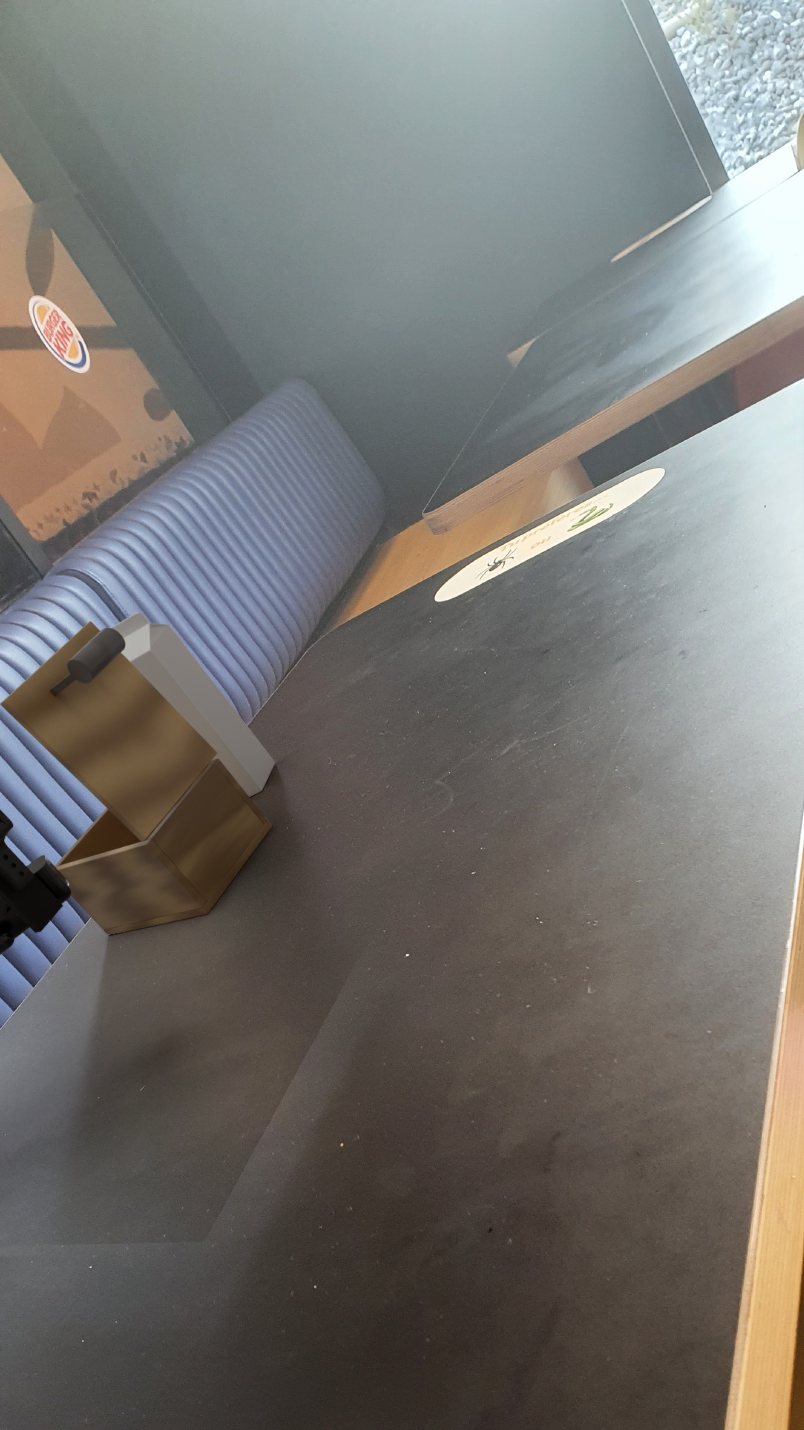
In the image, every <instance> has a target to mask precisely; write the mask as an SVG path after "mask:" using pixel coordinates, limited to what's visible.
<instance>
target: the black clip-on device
mask: <svg viewBox="0 0 804 1430" xmlns="http://www.w3.org/2000/svg"><path fill="white" fill-rule="evenodd" d="M26 866H27V867H28V868H29V869H30V870H31V872H32V873H33V874H34V875H35V876H36V877H37V878H38V879H39V880H40V881H41V882H42V884H43V885H44V886H45V887H46V888H47V889H48V890H49V891H50V892H51V893H52V894H53V895H54V896H55V897H56V898H57V899H58V900H59V902H60V903H61V904H62V905H63V904H64V903H66V902H67V901H68V900H69V899H70V898H71V887H70V883H69V881H68V880H67V879H66V878H65V877H64V876H63V875H62V874H61V873H60V871H59V870H58V869H57V868H56V867H55V864H53V863H52V862H51V860H50V859H49V858H48V857H47V856H46V854H45V855H44V854H43V855H39V856H38V857H37V858H35V859H34V860H33V861H31V862H30V863H29V864H28V865H26ZM29 929H31V928H30V927H29V926H28V925H27V924H26V923H25V922H24V921H23V920H22V919H21V918H20V917H19V916H18V915H17V914H16V913H15V912H14V911H13V910H12V909H11V908H10V907H9V906H8V905H7V904H6V903H5V902H4V901H3V900H2V899H1V898H0V956H1V955H3V954H4V953H5V952H7V951H8V950H9V949H10V948H12V946H13V945H14V943H15V940H16V939H17V938H19V936H21V935H22V934H24V933H25V932H26V931H28V930H29Z"/></svg>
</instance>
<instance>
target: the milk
mask: <svg viewBox="0 0 804 1430" xmlns="http://www.w3.org/2000/svg"><path fill="white" fill-rule="evenodd" d="M111 628H113V629H115V630H116V631H118V632H119V633H120V634H121V635H122V637H123V638H124V640H125V649H124V650H123V651H122V652H121V653H122V654H123V655H124V656H125V657H126V658H127V659H128V660H129V661H130V662H131V663H132V664H133V665H134V666H135V668H136V669H137V670H138V671H139V672H140V673H141V674H142V675H143V676H144V677H145V678H146V679H147V680H148V681H149V682H150V683H151V684H152V685H153V686H154V687H155V688H156V689H157V690H158V691H159V693H160V694H161V695H162V696H163V697H164V698H165V699H166V700H167V701H168V702H169V703H170V704H171V705H172V706H173V707H174V708H175V709H176V710H177V711H178V712H179V713H180V714H181V715H182V716H183V718H184V719H185V720H186V721H187V722H188V723H189V724H190V725H191V726H192V727H193V728H194V729H195V730H196V731H197V732H198V733H199V734H200V735H201V736H202V737H203V738H204V739H205V740H206V741H207V743H208V744H209V745H210V746H211V747H212V748H213V749H214V750H215V751H216V752H217V754H216V756H215V757H214V758H213V759H212V760H215V759H219V760H220V761H221V762H222V763H223V765H224V766H225V767H226V768H227V770H228V771H229V772H230V773H231V775H232V776H233V777H234V778H235V780H236V781H237V782H238V783H239V785H240V786H241V787H242V788H243V790H244V791H245V792H246V793H247V795H248V796H249V797H250V798H251V797H253V796H254V795H257V794H259V793H261V792H262V791H263V790H264V788H265V785H266V784H267V782H268V779H269V777H270V776H271V773H272V771H273V769H274V767H275V765H276V761H275V760H274V758H273V757H272V756H271V755H270V753H269V752H268V751H267V750H266V748H265V746H264V745H262V743H261V741H260V740H259V739H258V738H257V737H256V735H255V734H254V732H253V731H252V730H251V728H249V726H248V725H247V724H246V722H245V721H244V720H243V718H242V717H241V716H240V714H239V713H238V712H237V710H236V709H235V708H234V707H233V706H232V704H231V703H230V702H229V700H228V699H227V698H226V696H225V695H224V694H223V692H221V689H220V688H219V687H218V686H217V685H216V683H215V682H214V681H213V679H212V678H211V677H210V675H209V674H208V672H206V671H205V669H204V668H203V667H202V665H201V664H200V662H198V660H197V658H196V657H195V656H194V655H193V654H192V652H191V651H190V650H189V649H188V647H187V646H186V645H185V643H184V642H183V641H182V640H181V638H180V637H179V635H178V634H177V633H176V631H175V630H174V629H173V628H172V626H171V625H170V624H165V623H156V622H155V623H154V622H149V620H148V619H147V618H146V617H145V615H144V614H143V613H142V612H140V611H137V612H135V613H133V614H132V615H130V616H129V617H127V618H125V619H123V620H121V621H120V622H118V623H117V624H114V625H113V626H112V627H111ZM212 760H211V761H212Z"/></svg>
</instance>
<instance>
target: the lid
mask: <svg viewBox="0 0 804 1430" xmlns="http://www.w3.org/2000/svg"><path fill="white" fill-rule="evenodd" d="M124 649H125V640H124V638H123V637H122V635H121V634H120V633H119V632H118V631H116V630H115V629H113V628H112V627H109V626H108V627H104V628H102V629H101V630H100V628H98V627H97V626H96V625H95V624H94V623H93V622H92V620H89V621H88V622H87V623H86V624H85V625H83V627H82V628H80V629H79V630H78V631H77V632H76V633H75V634H73V636H72V637H71V638H69V640H68V641H66V643H64V644H63V645H62V646H61V647H60V648H58V650H57V651H55V652H54V653H53V654H52V655H51V656H50V657H49V658H48V659H47V660H46V661H44V662H43V664H42V665H40V666H39V667H38V668H37V669H36V670H35V671H34V672H33V673H31V674H30V675H29V676H28V677H27V678H26V679H25V680H24V681H23V682H21V684H20V685H18V687H16V688H15V689H14V690H13V691H12V692H11V693H10V694H9V695H8V696H6V698H5V699H3V700H2V701H1V702H0V706H1V707H2V708H3V710H5V711H6V713H8V714H9V715H10V716H11V717H12V718H13V719H14V720H15V721H17V723H18V724H19V725H20V726H21V727H23V729H24V730H26V732H28V733H29V734H30V735H31V736H32V737H33V739H35V741H37V742H38V743H39V744H40V745H41V746H42V747H43V748H44V749H45V750H46V751H47V752H49V754H50V755H51V756H53V757H54V759H56V760H57V762H58V763H60V764H61V766H63V768H65V769H66V770H67V771H68V772H69V773H70V774H71V775H72V776H73V777H74V778H75V779H76V780H77V781H78V782H79V783H80V784H81V785H83V786H84V788H85V789H86V790H87V791H88V792H90V793H91V795H93V796H94V797H95V799H97V801H99V802H100V803H101V804H102V805H103V806H104V807H105V809H106V808H107V809H108V810H110V811H111V812H112V813H113V814H114V815H115V816H116V817H117V818H118V819H119V820H120V821H121V822H122V823H123V824H124V825H125V826H126V827H127V828H128V829H129V830H130V831H131V832H132V833H133V834H134V835H135V836H136V837H137V838H138V839H139V840H141V841H143V840H145V839H146V838H147V837H148V836H149V835H150V834H151V832H152V831H153V830H154V829H155V828H156V826H157V825H158V824H159V823H160V822H161V820H162V819H163V818H164V817H165V816H166V814H167V813H168V812H169V811H170V810H171V808H172V807H173V806H174V805H175V804H176V802H177V801H178V800H179V799H180V798H181V796H182V795H183V794H184V793H185V792H186V790H187V789H188V788H189V787H190V786H191V784H192V783H193V782H194V781H195V780H196V778H197V777H198V776H199V775H200V774H201V772H202V771H203V770H204V769H205V768H206V766H207V765H208V764H209V763H210V762H211V760H212V759H213V758H214V757H215V756H216V754H217V752H216V751H215V750H214V749H213V748H212V747H211V746H210V745H209V744H208V743H207V741H206V740H205V739H204V738H203V737H202V736H201V735H200V734H199V733H198V732H197V731H196V730H195V729H194V728H193V727H192V726H191V725H190V724H189V723H188V722H187V721H186V720H185V719H184V718H183V716H182V715H181V714H180V713H179V712H178V711H177V710H176V709H175V708H174V707H173V706H172V705H171V704H170V703H169V702H168V701H167V700H166V699H165V698H164V697H163V696H162V695H161V694H160V693H159V691H158V690H157V689H156V688H155V687H154V686H153V685H152V684H151V683H150V682H149V681H148V680H147V679H146V678H145V677H144V676H143V675H142V674H141V673H140V672H139V671H138V670H137V669H136V668H135V666H134V665H133V664H132V663H131V662H130V661H129V660H128V659H127V658H126V657H125V656H124V655H123V654H122V653H121V652H122V651H123V650H124Z"/></svg>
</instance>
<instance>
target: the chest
mask: <svg viewBox="0 0 804 1430" xmlns="http://www.w3.org/2000/svg"><path fill="white" fill-rule="evenodd" d="M272 827H273V825H272V823H271V822H270V821H269V820H268V818H267V817H266V816H265V814H264V813H263V812H262V811H261V809H260V808H259V807H258V806H257V805H256V804H255V802H254V801H253V800H252V798H251V797H249V796H248V795H247V793H246V792H245V791H244V790H243V788H242V787H241V786H240V785H239V783H238V782H237V781H236V780H235V778H234V777H233V776H232V775H231V773H230V772H229V771H228V770H227V768H226V767H225V766H224V765H223V763H222V762H221V761H220V760H219V759H215V760H212V761H211V762H210V763H209V764H208V765H207V766H206V768H205V769H204V770H203V771H202V772H201V774H200V775H199V776H198V777H197V778H196V780H195V781H194V782H193V783H192V784H191V786H190V787H189V788H188V789H187V790H186V792H185V793H184V794H183V795H182V796H181V798H180V799H179V800H178V801H177V802H176V804H175V805H174V806H173V807H172V808H171V810H170V811H169V812H168V813H167V814H166V816H165V817H164V818H163V819H162V820H161V822H160V823H159V824H158V825H157V826H156V828H155V829H154V830H153V831H152V832H151V834H150V835H149V836H148V837H147V838H146V839H145V840H143V841H141V840H139V839H138V838H137V837H136V836H135V835H134V834H133V833H132V832H131V831H130V830H129V829H128V828H127V827H126V826H125V825H124V824H123V823H122V822H121V821H120V820H119V819H118V818H117V817H116V816H115V815H114V814H113V813H112V812H111V811H110V810H108V809H107V808H106V807H105V809H103V811H102V812H101V813H100V814H99V816H98V817H96V819H95V820H94V821H93V822H92V823H91V824H90V826H89V827H88V828H87V829H86V831H84V832H83V834H82V835H81V836H80V837H79V838H78V839H77V840H76V841H75V842H74V843H73V845H71V847H70V848H69V849H68V850H67V851H66V853H65V854H64V855H63V856H62V857H61V858H60V859H59V860H58V861H57V863H56V864H54V866H55V867H56V868H57V869H58V870H59V871H60V873H61V874H62V875H63V876H64V877H65V878H66V879H67V880H68V881H69V883H70V887H71V896H70V898H72V899H73V900H74V901H75V902H76V903H77V904H78V905H79V906H80V907H81V909H83V911H84V912H85V913H86V914H87V915H88V916H89V917H90V918H91V919H92V921H94V922H95V923H96V924H97V925H98V927H100V929H102V930H103V932H104V933H105V934H106V935H107V936H109V935H108V934H113V935H116V934H115V933H117V934H121V932H122V933H126V932H131V931H135V930H139V929H144V928H148V927H149V928H150V927H154V926H158V925H163V924H168V923H171V922H177V921H181V920H185V919H190V918H194V917H199V916H203V915H208V914H209V913H210V912H211V910H212V909H213V908H214V906H215V905H216V903H217V902H218V901H219V900H220V898H221V897H222V895H223V894H224V892H225V891H226V889H227V888H228V887H229V886H230V884H231V883H232V881H234V879H235V878H236V876H237V875H238V874H239V872H240V871H241V869H242V868H243V866H244V865H245V864H246V862H248V860H249V859H250V857H251V856H252V855H253V853H254V852H255V850H256V849H257V848H258V846H259V845H260V844H261V843H262V841H263V840H264V838H265V837H266V835H267V834H268V833H269V831H270V830H271V828H272Z"/></svg>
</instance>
